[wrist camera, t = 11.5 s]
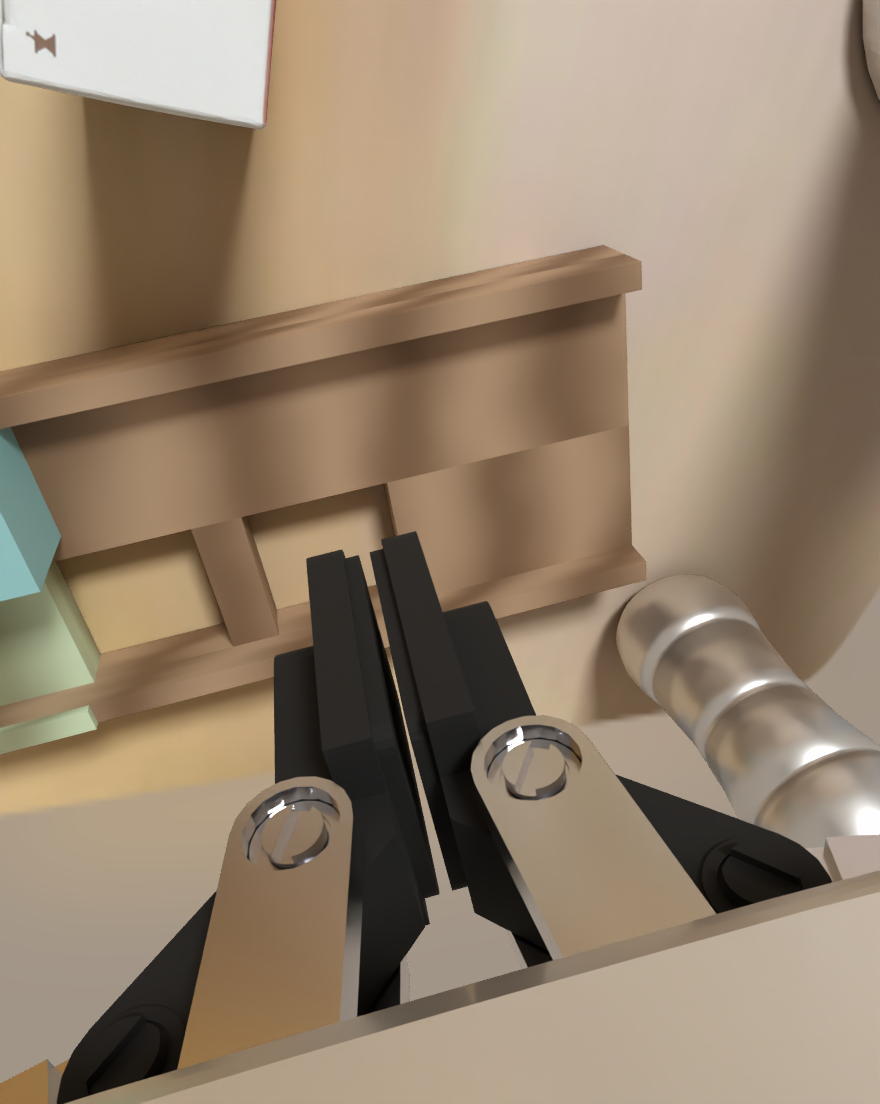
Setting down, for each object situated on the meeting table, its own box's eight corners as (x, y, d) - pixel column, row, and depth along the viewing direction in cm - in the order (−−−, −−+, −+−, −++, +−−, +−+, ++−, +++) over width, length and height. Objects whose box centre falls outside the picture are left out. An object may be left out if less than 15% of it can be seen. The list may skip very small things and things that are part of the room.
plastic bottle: (603, 572, 40) (874, 927, 23) (728, 547, 41) (1076, 870, 24) (601, 672, 43) (836, 1046, 26) (716, 646, 44) (1015, 991, 27)
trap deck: (603, 245, 32) (653, 266, 28) (615, 542, 39) (656, 591, 35) (-192, 411, 29) (-256, 461, 25) (-16, 702, 36) (-45, 776, 32)
